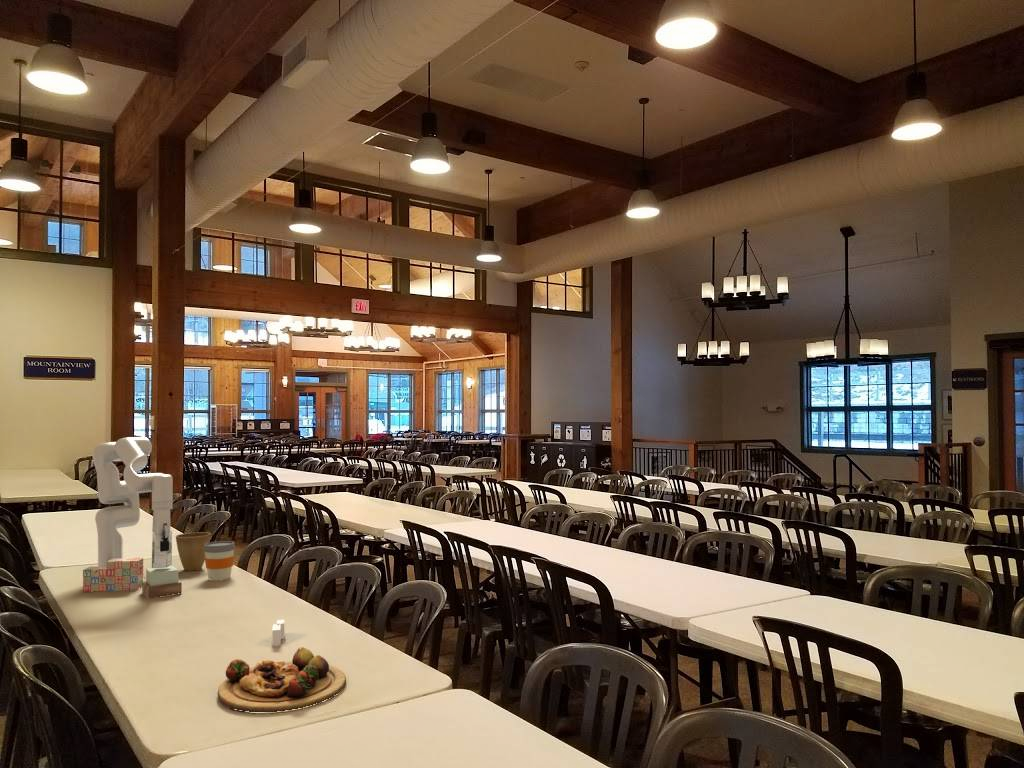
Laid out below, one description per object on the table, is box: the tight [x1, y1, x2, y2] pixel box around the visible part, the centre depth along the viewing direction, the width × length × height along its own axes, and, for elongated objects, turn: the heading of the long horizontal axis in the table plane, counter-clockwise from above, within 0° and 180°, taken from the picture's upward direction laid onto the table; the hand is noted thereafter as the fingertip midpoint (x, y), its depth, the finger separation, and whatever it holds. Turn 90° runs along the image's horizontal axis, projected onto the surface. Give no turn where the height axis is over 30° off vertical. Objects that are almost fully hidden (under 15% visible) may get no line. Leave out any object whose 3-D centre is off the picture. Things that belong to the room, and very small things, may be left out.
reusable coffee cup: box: [204, 540, 236, 581], centre depth 324 cm, size 13×13×15 cm
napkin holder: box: [271, 619, 285, 647], centre depth 236 cm, size 15×11×6 cm
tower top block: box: [145, 565, 179, 586], centre depth 298 cm, size 10×10×5 cm
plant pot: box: [175, 531, 211, 572], centre depth 343 cm, size 15×15×16 cm
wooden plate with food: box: [217, 646, 347, 712], centre depth 194 cm, size 32×32×8 cm
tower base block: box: [141, 579, 183, 599], centre depth 298 cm, size 12×12×5 cm
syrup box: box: [151, 529, 173, 568], centre depth 298 cm, size 6×6×14 cm
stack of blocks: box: [82, 557, 144, 593], centre depth 306 cm, size 21×6×12 cm, turn 97°
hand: (162, 549), depth 298 cm, fingers closed on syrup box, 7 cm apart
